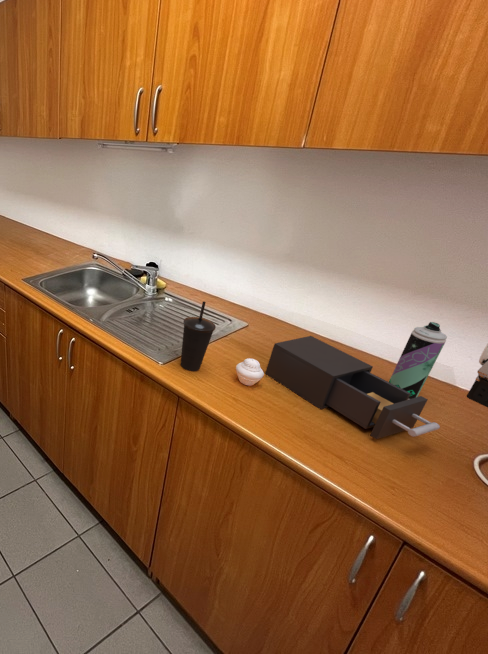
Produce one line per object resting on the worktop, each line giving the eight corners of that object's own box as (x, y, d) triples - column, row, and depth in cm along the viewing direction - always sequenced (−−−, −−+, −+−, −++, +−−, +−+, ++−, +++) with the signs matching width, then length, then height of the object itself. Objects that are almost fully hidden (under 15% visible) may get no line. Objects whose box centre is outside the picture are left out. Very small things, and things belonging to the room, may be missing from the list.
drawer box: (358, 399, 96) (373, 366, 93) (320, 409, 93) (333, 376, 90) (300, 365, 109) (310, 335, 106) (264, 373, 106) (274, 343, 102)
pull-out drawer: (437, 441, 83) (454, 412, 80) (400, 454, 80) (415, 424, 77) (346, 389, 98) (357, 363, 95) (312, 398, 95) (322, 372, 92)
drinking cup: (175, 371, 108) (189, 306, 100) (174, 356, 114) (186, 294, 106) (207, 377, 105) (223, 310, 97) (203, 361, 112) (218, 297, 104)
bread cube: (392, 419, 87) (399, 406, 86) (376, 425, 86) (383, 411, 84) (366, 405, 92) (372, 392, 90) (351, 409, 90) (357, 396, 89)
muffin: (227, 376, 105) (233, 354, 103) (247, 373, 106) (253, 351, 104) (245, 391, 100) (252, 368, 97) (266, 387, 101) (273, 364, 98)
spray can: (385, 384, 101) (417, 315, 94) (415, 393, 98) (451, 323, 90) (385, 394, 98) (418, 323, 90) (416, 404, 94) (453, 332, 86)
